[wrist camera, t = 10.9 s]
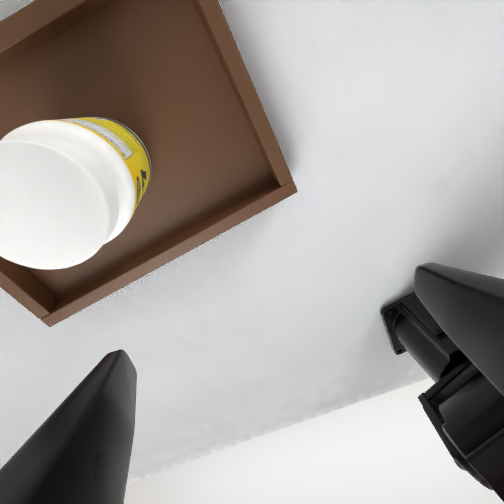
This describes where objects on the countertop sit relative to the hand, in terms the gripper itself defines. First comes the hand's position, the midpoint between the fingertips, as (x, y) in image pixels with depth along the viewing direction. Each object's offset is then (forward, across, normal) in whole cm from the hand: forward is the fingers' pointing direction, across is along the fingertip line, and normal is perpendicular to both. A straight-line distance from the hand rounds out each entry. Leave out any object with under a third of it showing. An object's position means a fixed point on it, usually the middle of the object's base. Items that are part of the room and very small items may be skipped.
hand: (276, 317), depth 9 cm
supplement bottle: (+11, +6, -4) cm, 13 cm away
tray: (+12, +6, -4) cm, 14 cm away
